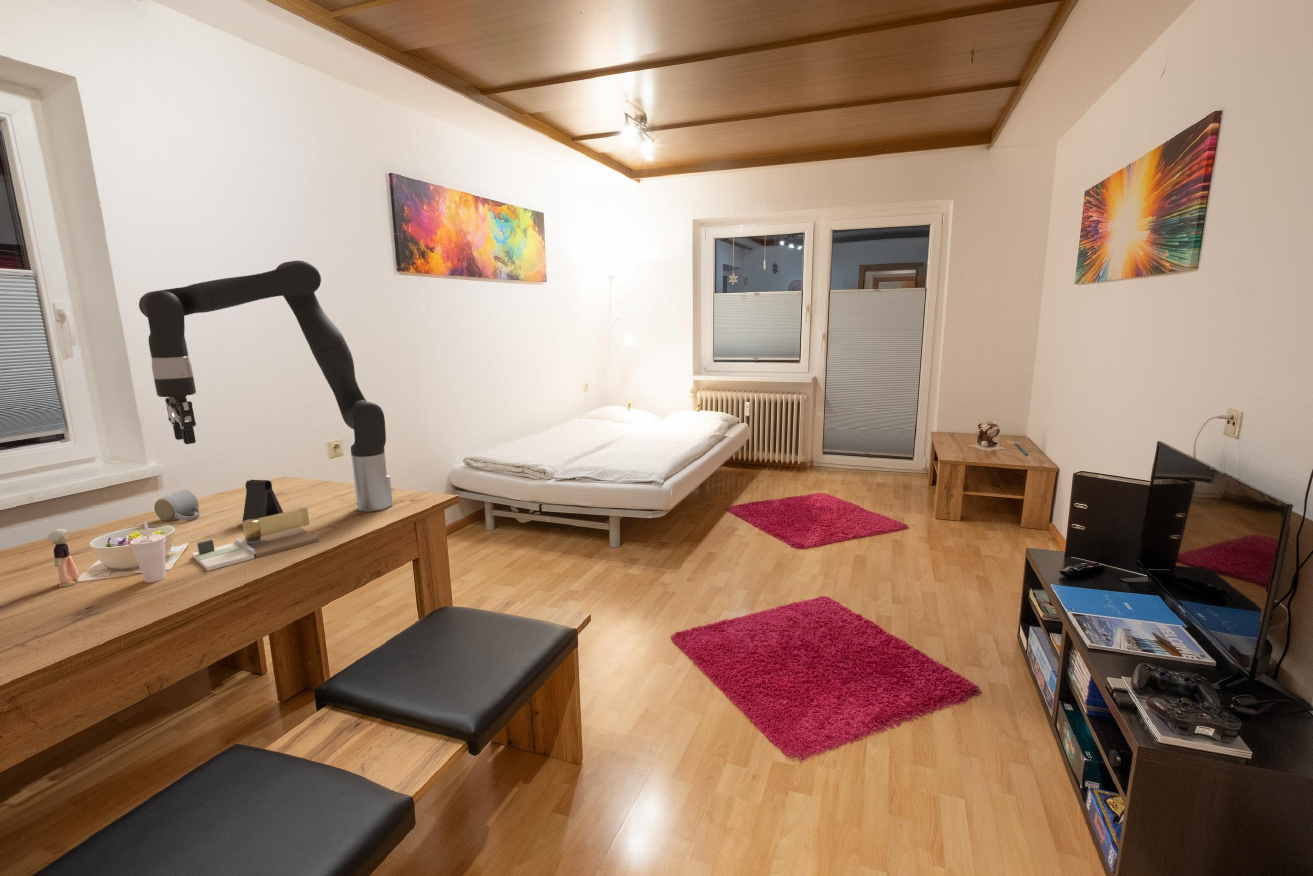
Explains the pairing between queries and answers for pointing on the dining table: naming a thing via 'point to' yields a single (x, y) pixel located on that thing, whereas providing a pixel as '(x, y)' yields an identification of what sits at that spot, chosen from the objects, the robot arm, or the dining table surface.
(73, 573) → the grandmother figurine
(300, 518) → the swing bar
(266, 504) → the phone stand
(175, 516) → the ceramic mug
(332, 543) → the dining table surface
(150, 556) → the smoothie
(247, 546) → the door mockup
